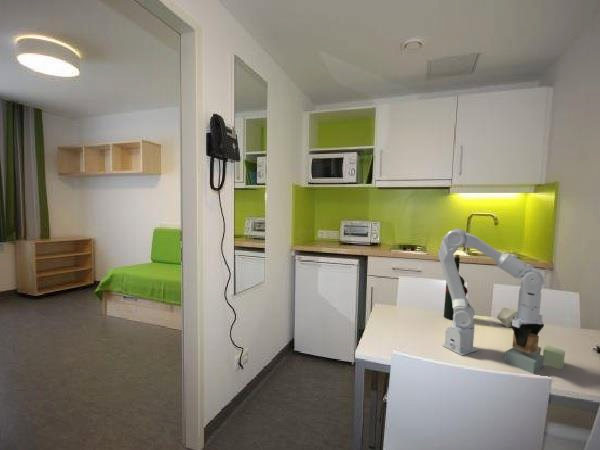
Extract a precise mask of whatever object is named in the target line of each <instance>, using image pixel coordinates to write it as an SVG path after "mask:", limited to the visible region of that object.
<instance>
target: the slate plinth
mask: <svg viewBox="0 0 600 450" xmlns="http://www.w3.org/2000/svg"><path fill="white" fill-rule="evenodd" d="M543 361H544V356H543V354H537V353H534V352H532V353H530V354H529V353H527V352H524V351H522V350H519V349H517V348H515V347H511V348H510V349H507V350H506V351H505V354H504V363H506V364H508V365H511V366H513V367H516V368H518V369H521V370H523V371H525V372H527V373H530V374H532V373H534V374H536V373H537V372H538V371H539V370H541V369H542V368H544V364H543Z"/></svg>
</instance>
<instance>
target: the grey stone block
mask: <svg viewBox="0 0 600 450" xmlns="http://www.w3.org/2000/svg"><path fill="white" fill-rule="evenodd" d="M516 315H517V310H515V309H514V308H513V307H511V306H510V307H509V306H508V307H502V308H500V310H499V311H498V314H497V316H496V318H497V319H498V320H499V321H500V322H501V323H502V324H503V325H504V326H505V328H512V327H511V326H510V324H511V322H512V320H514V319H515V317H516Z"/></svg>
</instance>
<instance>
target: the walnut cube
mask: <svg viewBox="0 0 600 450" xmlns="http://www.w3.org/2000/svg"><path fill="white" fill-rule="evenodd" d="M539 338H540V336H539V334H538V335H535V334H532V333H530V334H529V336H528V338H527V342H526V346H525V347H521V346H518V345H517V343H516V338H515V334H514V333H513V336H512V347H511V348H513V347H515V348H517V349H519V350H522V351H524V352H527V353H529V354H530V353H532V352H535V351H538V347H539V340H540V339H539Z"/></svg>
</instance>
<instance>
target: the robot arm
mask: <svg viewBox="0 0 600 450" xmlns="http://www.w3.org/2000/svg"><path fill="white" fill-rule="evenodd" d="M463 245H464V248H468V249H469V248H471V249H475V250H477V251H478V252H480V253H482V254H483V255H485V256H487V257H489V258H490V259H492V260H493V261H495V262H496V266H497V267H498V268H499V269H501V270H502V271H504V272H505V273H507V274H509V275H510V276H512V277H513V278H515V279H518V280H520V288H519V292H518V301H517V302H518V303H517V310H516V312H517V315H516V317H515V319H514V320H512V322H511V324H510V326H511V327H510V328H511V329H512V331H513V335H514V334H515V338H516V343H517V345H518V346H521V347H525V346H526V342H527V338H528V336H529V334H530V333H532V334H535V335H538V336H539V334H540V332H541V330H542V329H543V328H544V326H545V325H544V321H543V315H542V314H540V311H541V301H542V292H541V291H542V287H543V285H545V280H544V276H543V275H542V273H541V272H540V271H539V270H538V269H537V268H536V267H533V265H532V264H529V263H528V264H527V263H525V262H524V261H522V260H521V259H519V258H518V255H516V254H515V253H513V254H511V253H501V251H499V250H497V249H496V248H494V247H493V246H492V245H489V244H488V243H487V242H485V241H484V240H482V239H481V238H479V237H477V236H476V235H473V234H472V233H470V232H466V231H465V230H463V229H461V228H454V229H452V230H450V231H448V232H447V233H445V235H444V237H442V241H441V244H440V247H439V250H438V253H437V256H438V258H439V262H440V265H441V268H442V272H443V275H444V278H445V283H446V282H447V285H448V289H449V292H450V295H451V298H452V306H453V310H454V314H453V321H452V320H451V321H452V322H451V325H450V326H449V327H447V328H446V329H445V339H444V343H443V344H442V346H443V347H445V348H447V349H448V350H451V351H453V352H454V353H456V354H458V355H461V356H465V355H468V354H470V353H474V352H477V351H479V349H478V347H475V346H474V337H475V326H476V325H475V324H474V316H475V314H476V313H475V309H474V307H473V306H472V305H470V302H469V300H468V298H467V295H466V296H465V292H464V289H463V286H462V283H461V280H460V276H461V275H460V274H459V273H458V270H457V267H456V264H455V260H454V258H455V253H456V252H457V250H458V249H460V248H461V247H462V246H463Z"/></svg>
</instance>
